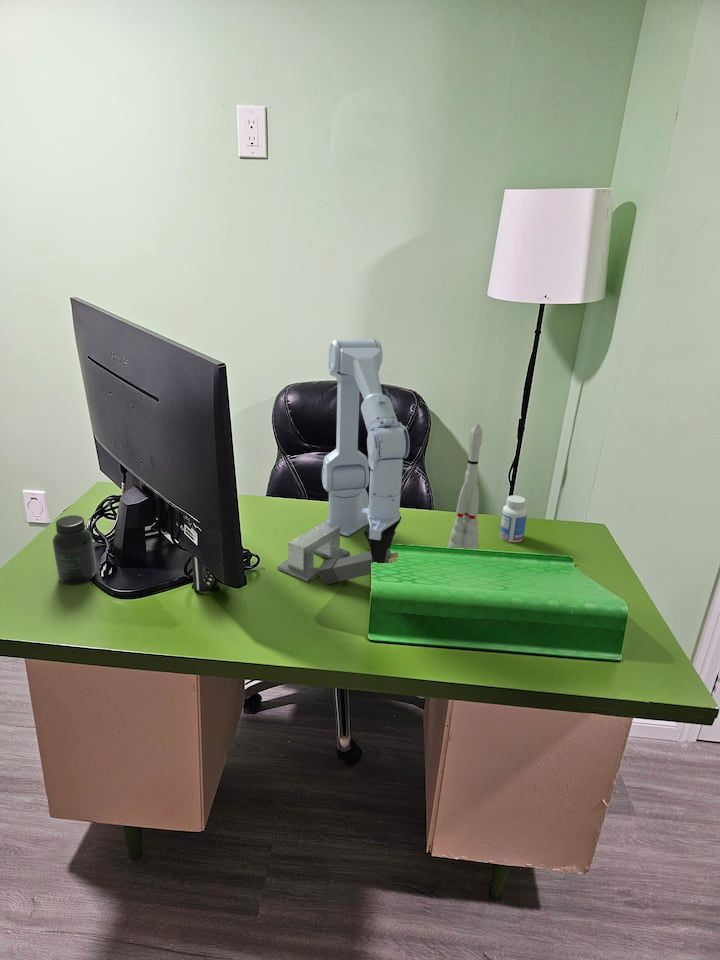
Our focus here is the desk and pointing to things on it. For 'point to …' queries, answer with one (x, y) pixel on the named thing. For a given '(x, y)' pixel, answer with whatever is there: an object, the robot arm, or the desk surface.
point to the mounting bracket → (312, 550)
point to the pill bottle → (513, 519)
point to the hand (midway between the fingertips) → (380, 556)
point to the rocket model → (468, 499)
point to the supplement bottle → (73, 551)
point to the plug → (350, 567)
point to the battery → (201, 576)
